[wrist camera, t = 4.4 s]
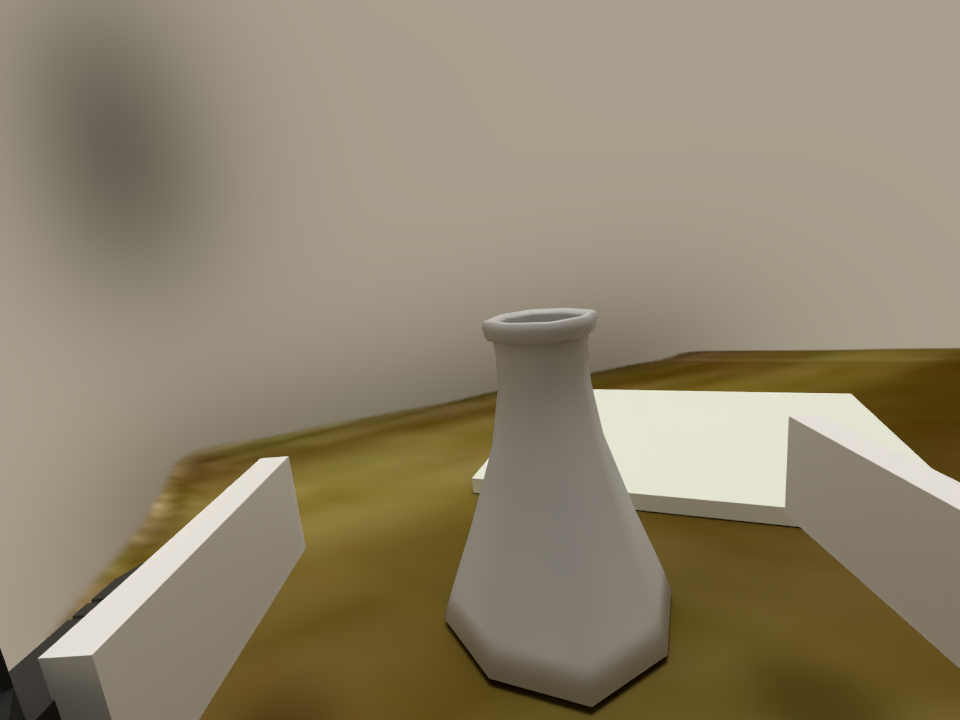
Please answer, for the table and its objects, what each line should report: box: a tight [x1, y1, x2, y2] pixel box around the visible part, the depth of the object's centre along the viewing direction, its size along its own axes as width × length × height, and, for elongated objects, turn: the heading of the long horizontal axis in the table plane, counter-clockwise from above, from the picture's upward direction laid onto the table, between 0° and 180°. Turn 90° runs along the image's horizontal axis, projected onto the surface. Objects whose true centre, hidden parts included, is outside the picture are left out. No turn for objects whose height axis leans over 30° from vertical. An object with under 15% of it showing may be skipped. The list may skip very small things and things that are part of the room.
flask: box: [445, 308, 672, 707], centre depth 15 cm, size 7×7×10 cm
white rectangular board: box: [472, 390, 932, 527], centre depth 28 cm, size 20×16×1 cm
